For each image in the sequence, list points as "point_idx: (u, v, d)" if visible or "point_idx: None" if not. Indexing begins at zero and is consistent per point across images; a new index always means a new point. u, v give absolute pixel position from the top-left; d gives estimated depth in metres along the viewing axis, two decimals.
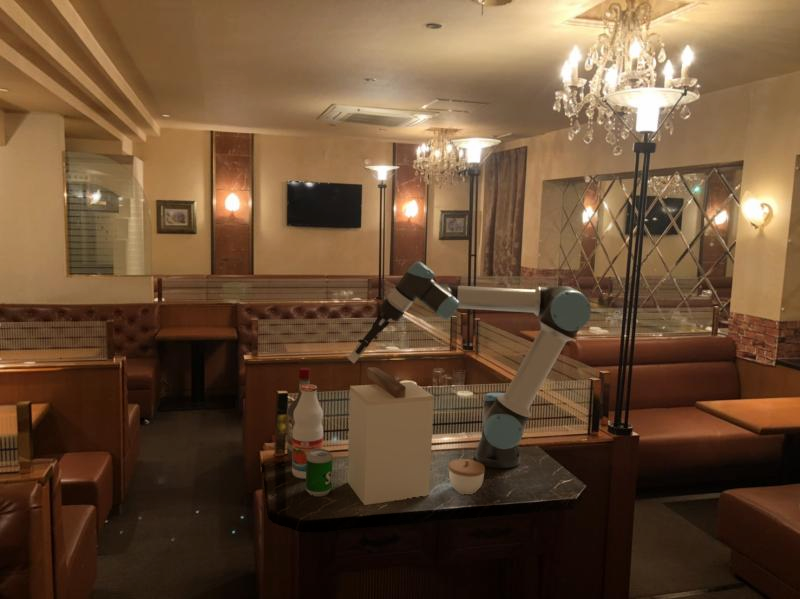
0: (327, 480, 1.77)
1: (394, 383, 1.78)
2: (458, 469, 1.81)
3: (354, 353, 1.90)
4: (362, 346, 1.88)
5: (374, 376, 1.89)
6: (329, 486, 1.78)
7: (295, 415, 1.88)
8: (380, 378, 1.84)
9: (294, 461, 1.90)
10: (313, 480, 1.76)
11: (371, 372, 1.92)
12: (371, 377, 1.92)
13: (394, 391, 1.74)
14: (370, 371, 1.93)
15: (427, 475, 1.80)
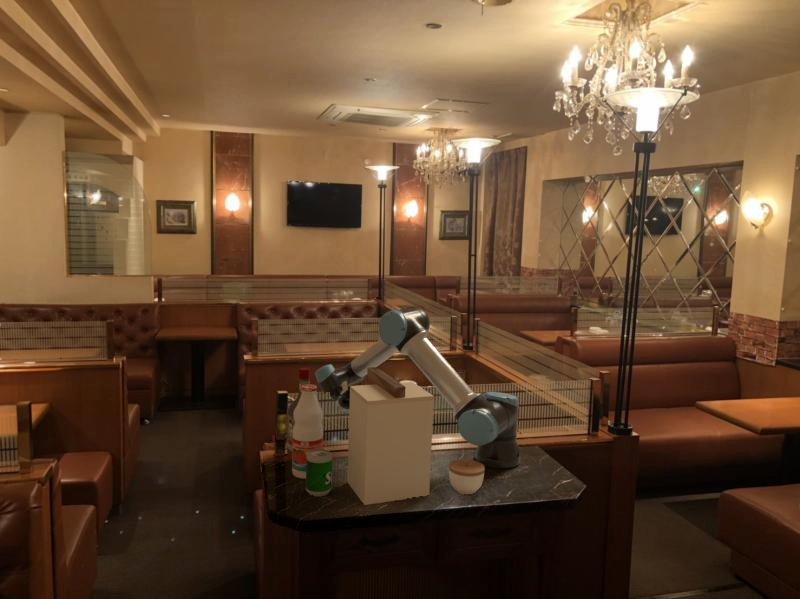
0: (327, 480, 1.77)
1: (394, 383, 1.78)
2: (458, 469, 1.81)
3: (343, 388, 2.01)
4: (336, 390, 2.03)
5: (374, 376, 1.89)
6: (329, 486, 1.78)
7: (295, 415, 1.88)
8: (380, 378, 1.84)
9: (294, 461, 1.90)
10: (313, 480, 1.76)
11: (371, 372, 1.92)
12: (371, 377, 1.92)
13: (394, 391, 1.74)
14: (370, 371, 1.93)
15: (427, 475, 1.80)
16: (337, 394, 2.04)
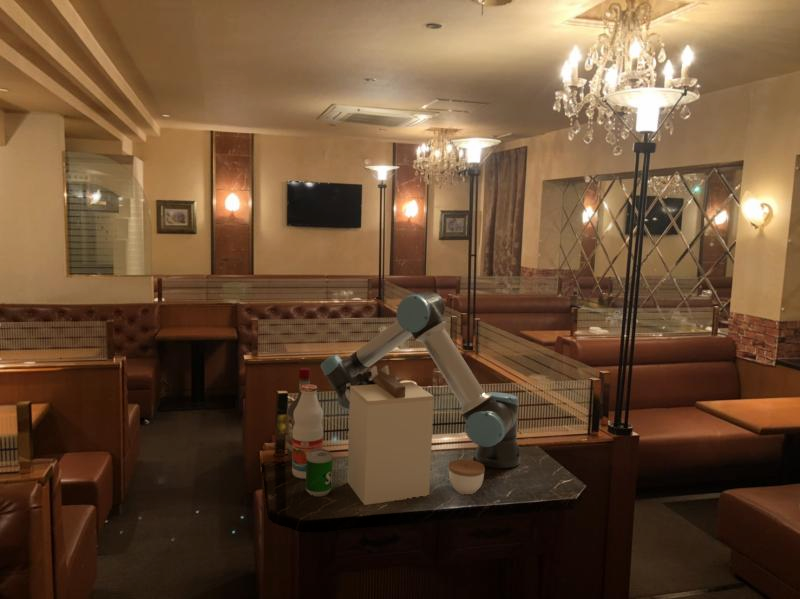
0: (327, 480, 1.77)
1: (394, 383, 1.77)
2: (458, 469, 1.81)
3: (372, 374, 1.89)
4: (365, 376, 1.92)
5: None
6: (329, 486, 1.78)
7: (295, 415, 1.88)
8: (380, 378, 1.84)
9: (294, 461, 1.90)
10: (313, 480, 1.76)
11: None
12: None
13: (394, 391, 1.74)
14: None
15: (427, 475, 1.80)
16: (367, 380, 1.92)
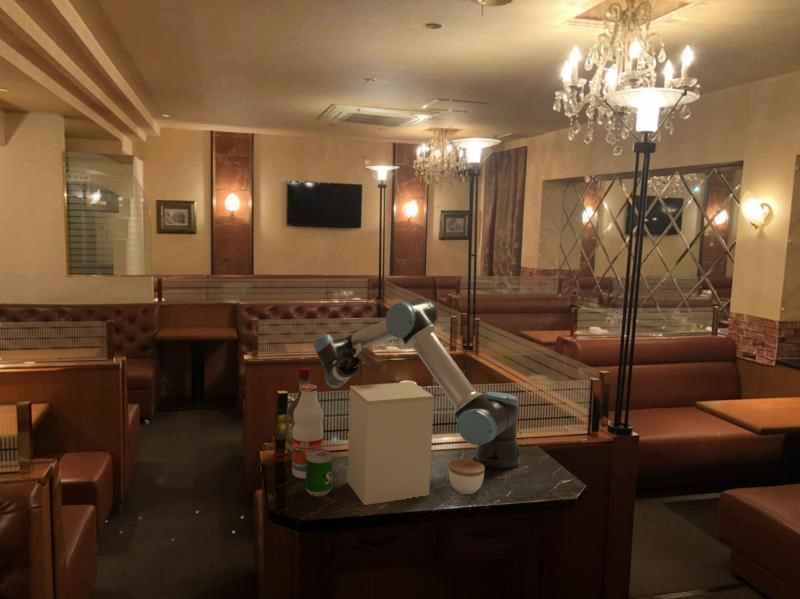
0: (327, 480, 1.77)
1: (376, 358, 1.90)
2: (458, 469, 1.81)
3: (356, 351, 2.02)
4: (350, 353, 2.04)
5: None
6: (329, 486, 1.78)
7: (295, 415, 1.88)
8: (364, 354, 1.97)
9: (294, 461, 1.90)
10: (313, 480, 1.76)
11: None
12: None
13: (376, 365, 1.87)
14: None
15: (427, 475, 1.80)
16: (351, 357, 2.05)
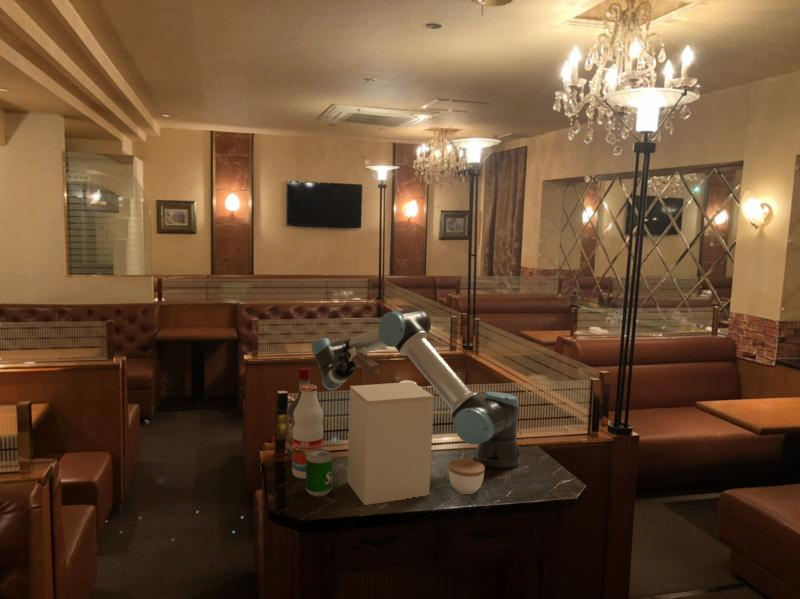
0: (327, 480, 1.77)
1: (370, 362, 1.97)
2: (458, 469, 1.81)
3: (351, 355, 2.08)
4: (345, 356, 2.11)
5: None
6: (329, 486, 1.78)
7: (295, 415, 1.88)
8: (358, 358, 2.03)
9: (294, 461, 1.90)
10: (313, 480, 1.76)
11: None
12: None
13: (369, 368, 1.93)
14: None
15: (427, 475, 1.80)
16: (346, 361, 2.11)
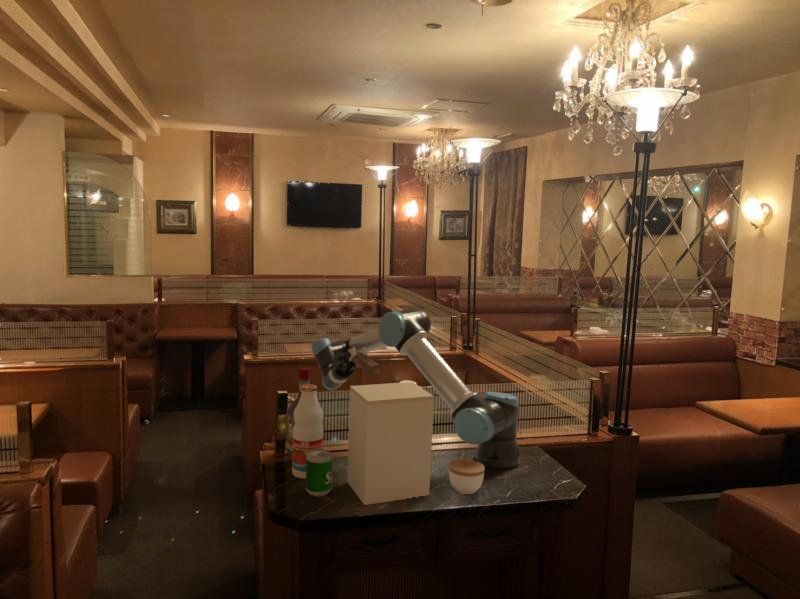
0: (327, 480, 1.77)
1: (370, 362, 1.97)
2: (458, 469, 1.81)
3: (351, 355, 2.08)
4: (345, 356, 2.11)
5: None
6: (329, 486, 1.78)
7: (295, 415, 1.88)
8: (358, 358, 2.03)
9: (294, 461, 1.90)
10: (313, 480, 1.76)
11: None
12: None
13: (369, 368, 1.93)
14: None
15: (427, 475, 1.80)
16: (346, 361, 2.11)
